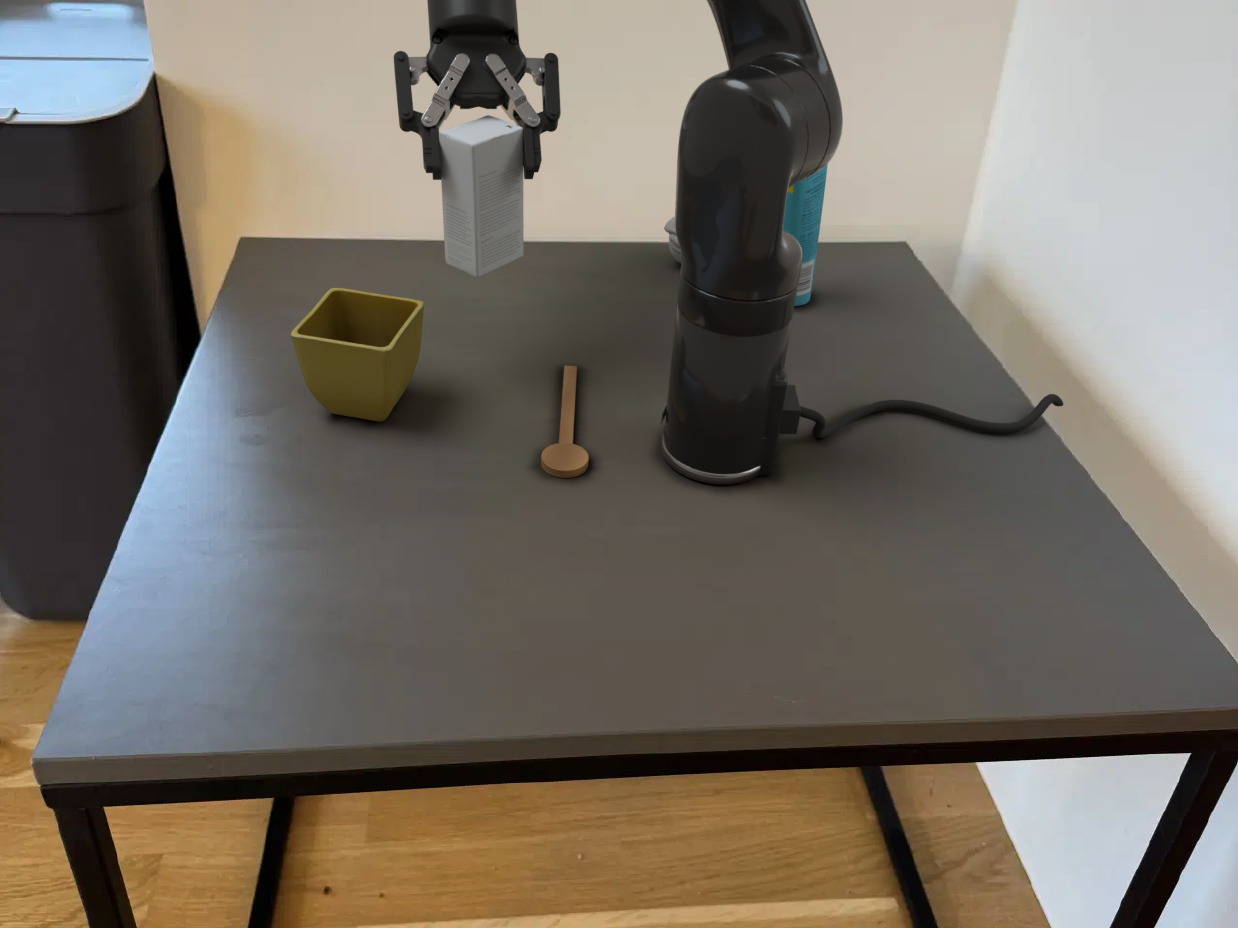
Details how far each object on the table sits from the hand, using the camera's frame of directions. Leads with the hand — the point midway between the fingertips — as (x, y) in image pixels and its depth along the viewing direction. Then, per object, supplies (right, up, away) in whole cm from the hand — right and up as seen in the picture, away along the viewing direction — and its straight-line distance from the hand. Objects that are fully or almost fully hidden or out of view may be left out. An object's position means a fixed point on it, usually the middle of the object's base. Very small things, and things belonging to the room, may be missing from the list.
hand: (483, 176), depth 92 cm
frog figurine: (+20, -1, +34) cm, 39 cm away
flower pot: (-11, -19, +7) cm, 23 cm away
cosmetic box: (-1, -6, +6) cm, 9 cm away
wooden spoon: (+7, -21, +6) cm, 23 cm away
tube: (+30, -6, +29) cm, 42 cm away
